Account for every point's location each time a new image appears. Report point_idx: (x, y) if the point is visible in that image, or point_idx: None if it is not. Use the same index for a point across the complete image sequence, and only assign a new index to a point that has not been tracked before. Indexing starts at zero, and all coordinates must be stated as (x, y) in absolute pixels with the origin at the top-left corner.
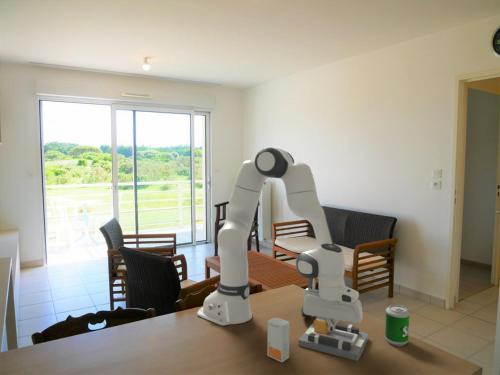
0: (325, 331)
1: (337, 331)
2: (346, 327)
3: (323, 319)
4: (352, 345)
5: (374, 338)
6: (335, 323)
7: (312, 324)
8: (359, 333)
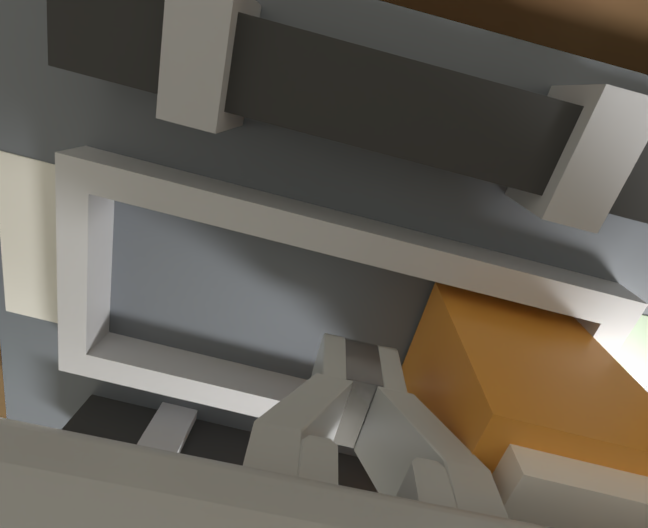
0: (449, 321)
1: None
2: None
3: (543, 504)
4: (90, 147)
5: (4, 417)
6: (287, 417)
7: None
8: None
